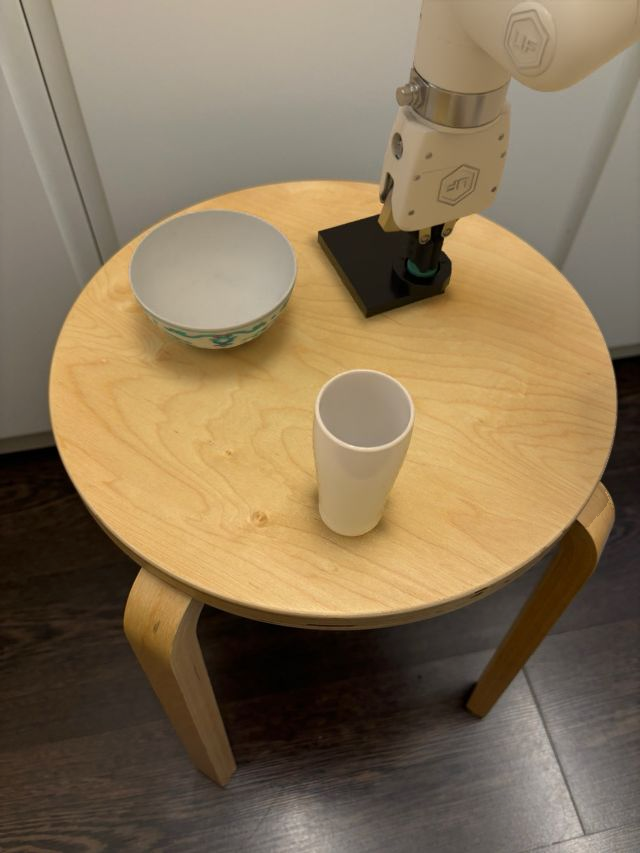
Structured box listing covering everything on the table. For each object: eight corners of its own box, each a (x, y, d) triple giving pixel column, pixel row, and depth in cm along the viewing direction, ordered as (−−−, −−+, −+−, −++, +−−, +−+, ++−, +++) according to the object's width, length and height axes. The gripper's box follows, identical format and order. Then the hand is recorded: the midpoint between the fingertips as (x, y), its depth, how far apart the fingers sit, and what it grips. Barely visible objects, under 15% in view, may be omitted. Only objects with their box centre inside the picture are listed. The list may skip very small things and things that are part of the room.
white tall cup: (300, 536, 57) (302, 438, 45) (320, 466, 61) (326, 357, 48) (382, 556, 56) (407, 462, 44) (397, 484, 60) (424, 378, 48)
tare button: (426, 260, 73) (428, 249, 71) (440, 280, 71) (443, 268, 70) (400, 268, 72) (402, 257, 71) (414, 288, 70) (416, 277, 69)
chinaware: (122, 297, 71) (105, 238, 64) (257, 250, 75) (253, 191, 68) (178, 406, 64) (165, 353, 57) (323, 348, 68) (326, 292, 61)
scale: (399, 217, 79) (402, 195, 76) (457, 297, 72) (462, 275, 70) (317, 241, 76) (318, 219, 74) (370, 325, 70) (372, 304, 67)
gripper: (394, 138, 51) (371, 309, 67) (564, 95, 55) (505, 267, 70) (350, 82, 55) (338, 257, 70) (512, 45, 59) (467, 219, 74)
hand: (421, 261), depth 70 cm, fingers closed
